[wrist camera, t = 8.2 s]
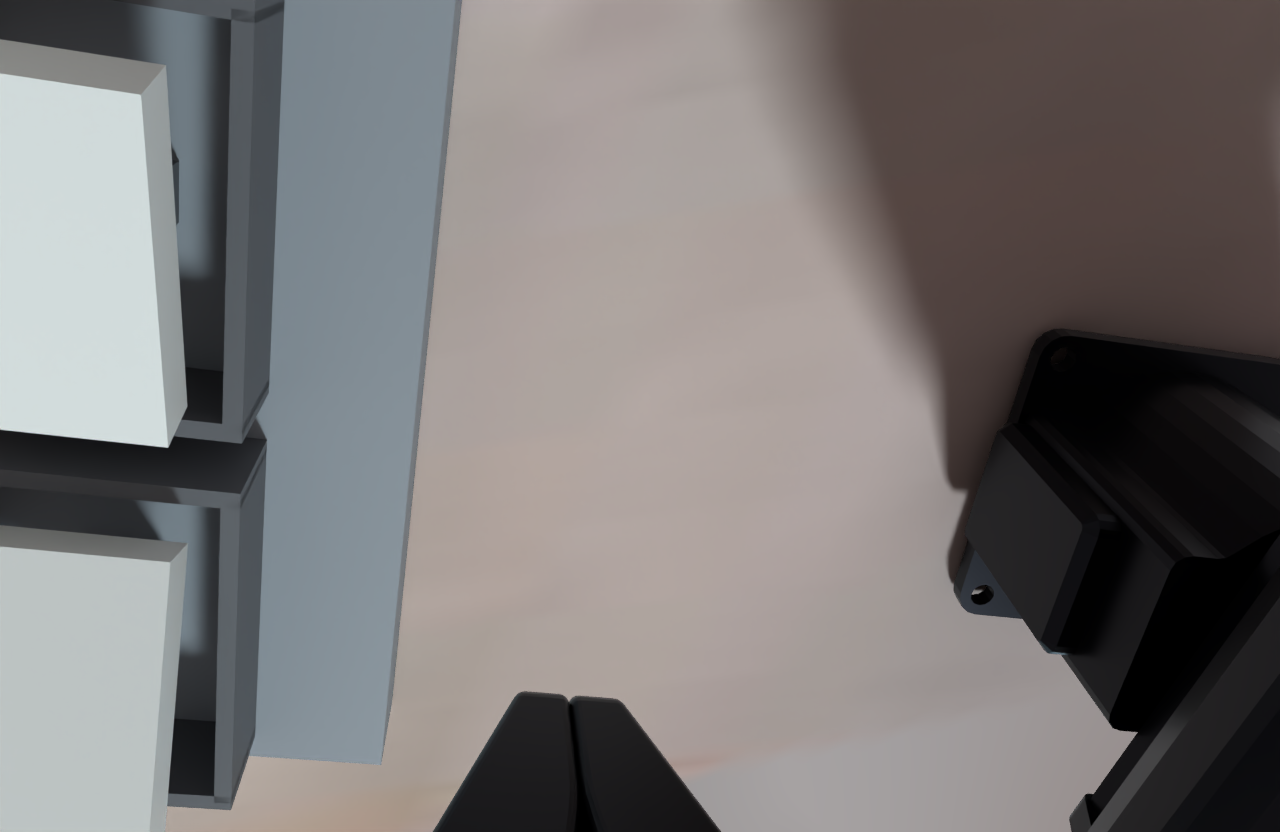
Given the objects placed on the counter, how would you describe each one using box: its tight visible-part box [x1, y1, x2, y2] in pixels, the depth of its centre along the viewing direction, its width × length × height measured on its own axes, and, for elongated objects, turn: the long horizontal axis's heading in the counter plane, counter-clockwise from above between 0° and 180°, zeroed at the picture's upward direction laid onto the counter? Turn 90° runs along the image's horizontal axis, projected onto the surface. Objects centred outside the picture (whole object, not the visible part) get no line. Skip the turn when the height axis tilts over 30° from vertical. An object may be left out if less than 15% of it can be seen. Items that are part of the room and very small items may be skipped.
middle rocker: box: [0, 39, 187, 448], centre depth 15 cm, size 4×5×1 cm
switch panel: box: [0, 0, 462, 810], centre depth 17 cm, size 10×23×4 cm, turn 170°
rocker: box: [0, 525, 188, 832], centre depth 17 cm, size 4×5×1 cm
